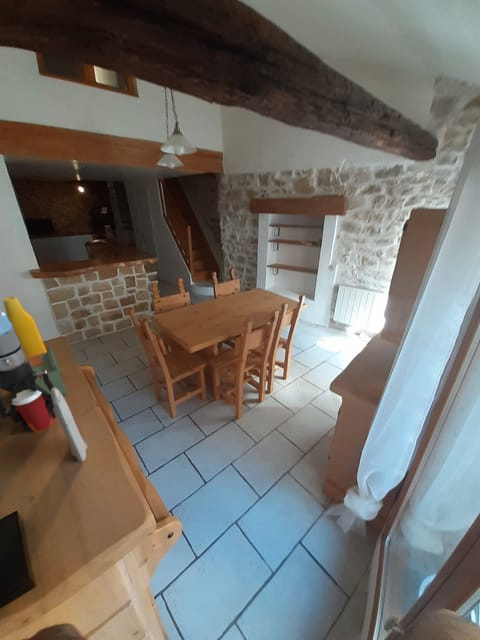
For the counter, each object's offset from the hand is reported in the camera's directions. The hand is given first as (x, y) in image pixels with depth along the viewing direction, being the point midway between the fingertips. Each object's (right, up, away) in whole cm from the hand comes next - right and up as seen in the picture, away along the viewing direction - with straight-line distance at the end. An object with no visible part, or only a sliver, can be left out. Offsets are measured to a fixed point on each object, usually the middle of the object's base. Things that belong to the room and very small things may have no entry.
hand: (40, 421), depth 81 cm
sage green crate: (-10, +6, +16) cm, 20 cm away
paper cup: (0, -2, +1) cm, 2 cm away
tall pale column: (+17, -6, -7) cm, 20 cm away
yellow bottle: (-29, +16, +34) cm, 47 cm away
